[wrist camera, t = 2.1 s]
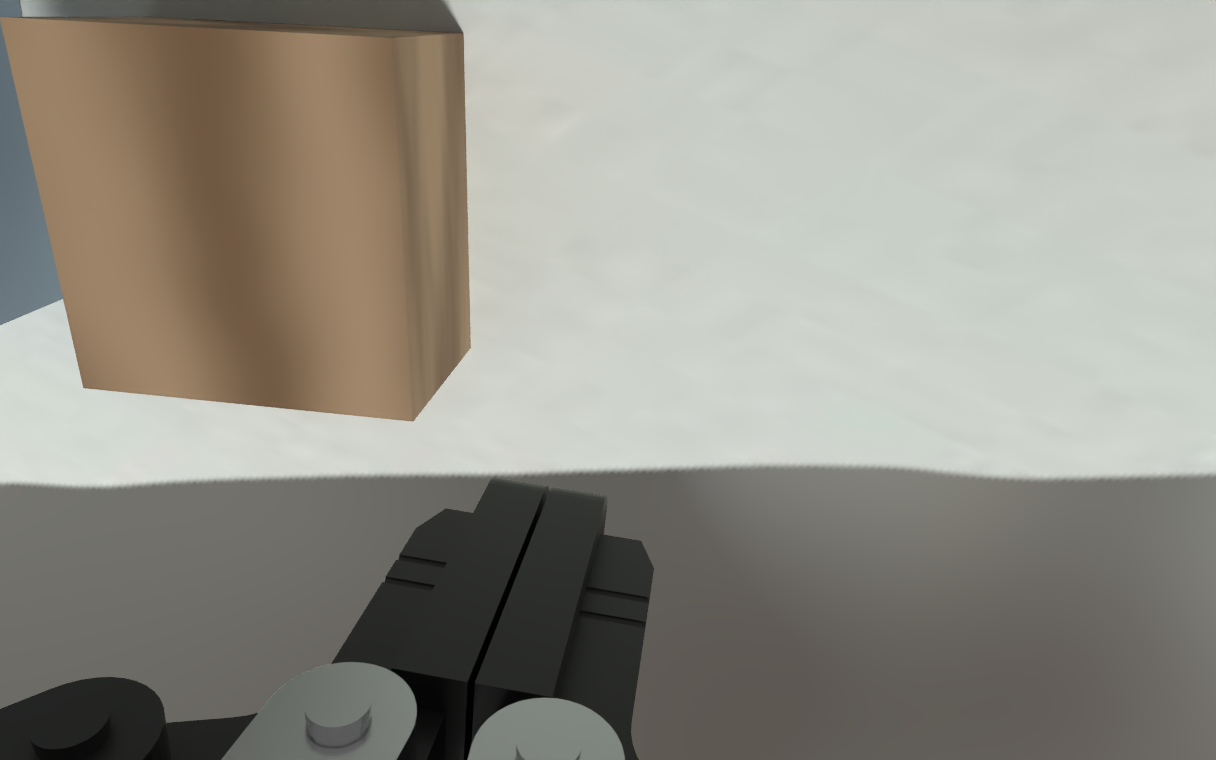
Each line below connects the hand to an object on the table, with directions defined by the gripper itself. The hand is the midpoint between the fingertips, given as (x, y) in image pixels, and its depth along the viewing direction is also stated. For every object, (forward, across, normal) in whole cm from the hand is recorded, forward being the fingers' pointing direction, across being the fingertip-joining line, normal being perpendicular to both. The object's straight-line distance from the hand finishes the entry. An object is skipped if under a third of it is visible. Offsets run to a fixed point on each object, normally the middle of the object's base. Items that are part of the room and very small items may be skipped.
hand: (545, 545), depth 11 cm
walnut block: (+17, +11, 0) cm, 20 cm away
